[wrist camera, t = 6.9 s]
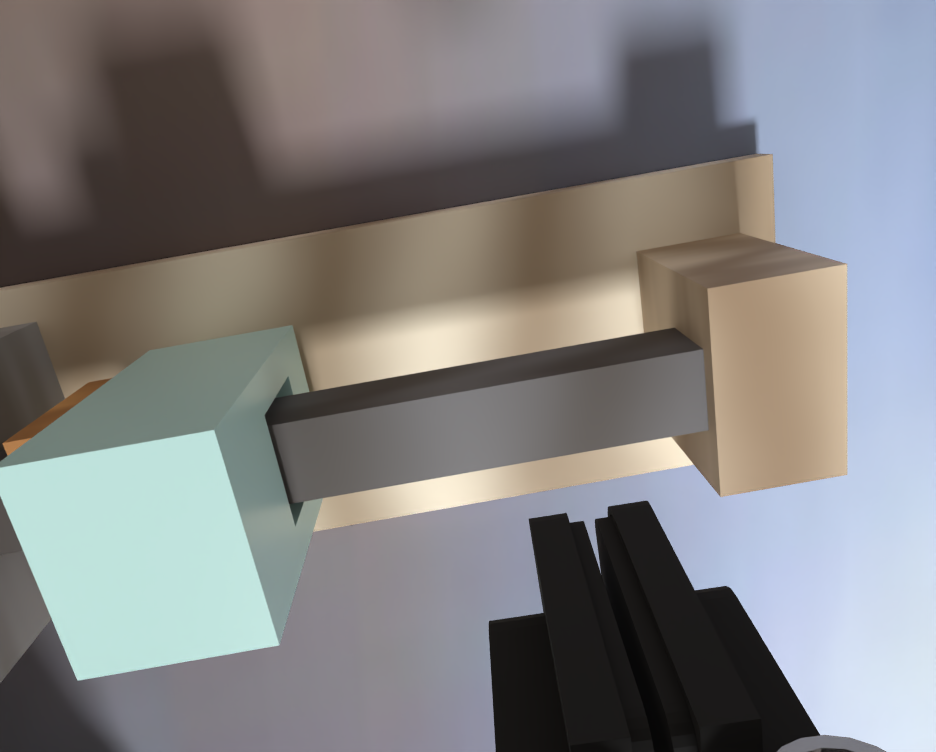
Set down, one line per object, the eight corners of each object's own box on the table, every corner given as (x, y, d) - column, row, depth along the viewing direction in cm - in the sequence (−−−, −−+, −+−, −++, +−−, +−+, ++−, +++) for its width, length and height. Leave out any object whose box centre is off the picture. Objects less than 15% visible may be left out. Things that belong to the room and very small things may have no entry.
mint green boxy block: (292, 325, 20) (213, 430, 13) (330, 474, 21) (279, 644, 14) (149, 350, 20) (-11, 469, 13) (197, 497, 21) (77, 680, 14)
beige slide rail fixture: (756, 153, 21) (986, 161, 12) (767, 436, 24) (960, 604, 15) (-128, 310, 21) (-514, 427, 12) (-12, 574, 24) (-261, 818, 15)
